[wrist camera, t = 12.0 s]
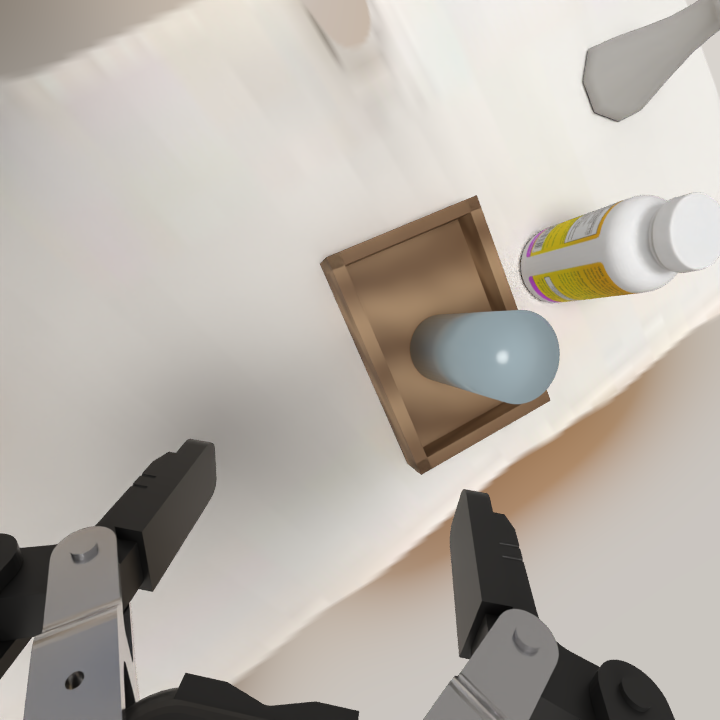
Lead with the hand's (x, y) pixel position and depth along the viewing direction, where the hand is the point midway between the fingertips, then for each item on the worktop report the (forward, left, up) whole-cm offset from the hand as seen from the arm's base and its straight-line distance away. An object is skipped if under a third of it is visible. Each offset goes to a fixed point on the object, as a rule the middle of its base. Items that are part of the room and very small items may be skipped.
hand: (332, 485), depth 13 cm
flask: (-13, +39, -19) cm, 46 cm away
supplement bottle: (0, +26, -19) cm, 33 cm away
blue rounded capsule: (+2, +13, -18) cm, 23 cm away
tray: (+1, +13, -19) cm, 23 cm away
